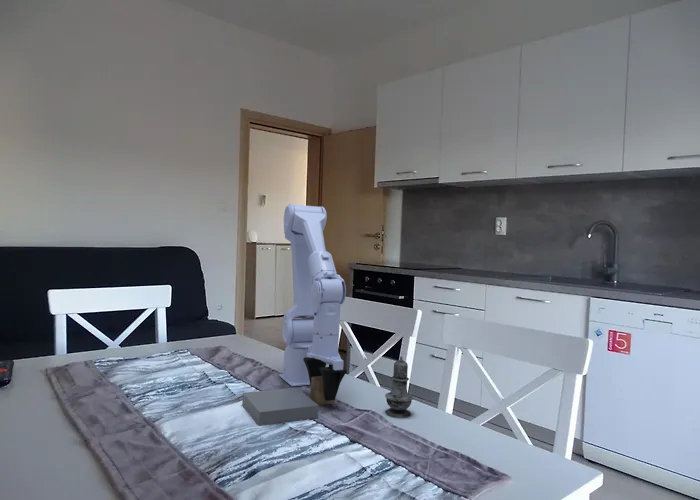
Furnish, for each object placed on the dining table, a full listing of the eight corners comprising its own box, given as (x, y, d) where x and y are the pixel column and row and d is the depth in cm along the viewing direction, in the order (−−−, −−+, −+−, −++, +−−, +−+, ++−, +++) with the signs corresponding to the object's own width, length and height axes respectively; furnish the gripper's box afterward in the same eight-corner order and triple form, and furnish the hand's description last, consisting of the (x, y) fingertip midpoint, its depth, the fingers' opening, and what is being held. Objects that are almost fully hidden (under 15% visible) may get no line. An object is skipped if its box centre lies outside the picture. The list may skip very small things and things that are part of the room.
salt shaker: (411, 420, 98) (414, 360, 98) (382, 416, 99) (385, 357, 99) (413, 410, 104) (416, 354, 103) (385, 407, 105) (389, 351, 105)
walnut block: (310, 399, 107) (311, 376, 107) (326, 397, 109) (328, 375, 109) (317, 405, 104) (318, 382, 104) (334, 403, 106) (335, 380, 106)
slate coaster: (242, 404, 101) (242, 392, 101) (296, 398, 107) (296, 387, 107) (258, 425, 91) (259, 412, 91) (317, 417, 96) (318, 405, 96)
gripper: (296, 327, 111) (293, 386, 111) (322, 340, 98) (319, 407, 98) (325, 326, 114) (322, 383, 114) (353, 339, 101) (350, 403, 101)
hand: (322, 394), depth 106 cm, fingers open, 7 cm apart
